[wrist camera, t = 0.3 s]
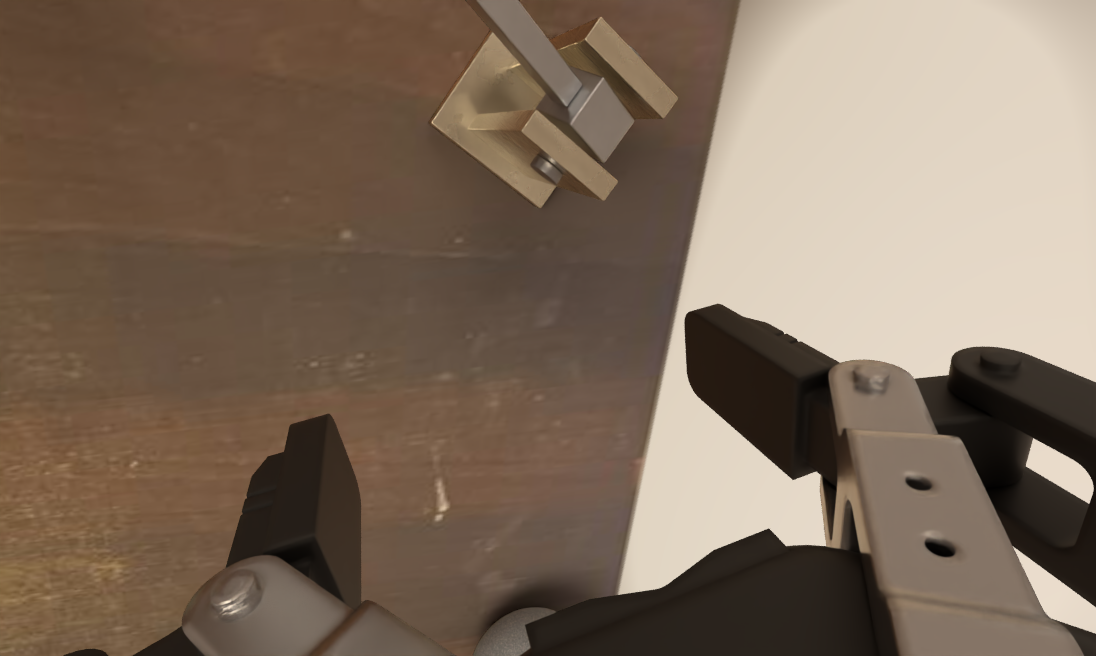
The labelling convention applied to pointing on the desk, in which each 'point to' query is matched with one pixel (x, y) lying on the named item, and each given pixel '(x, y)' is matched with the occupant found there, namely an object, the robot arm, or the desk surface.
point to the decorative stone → (510, 633)
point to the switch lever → (559, 81)
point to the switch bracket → (527, 135)
